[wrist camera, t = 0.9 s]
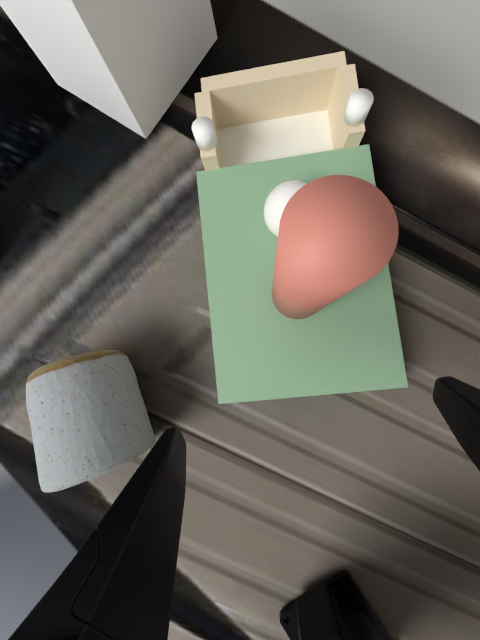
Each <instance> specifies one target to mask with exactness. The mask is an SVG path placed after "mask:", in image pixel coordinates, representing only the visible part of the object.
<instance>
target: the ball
mask: <svg viewBox="0 0 480 640" xmlns="http://www.w3.org/2000/svg"><path fill="white" fill-rule="evenodd" d="M306 184H307V183H304V182H302V181H298V180H290V181H286V182H283V183H281V184H279V185H278V186H276V187H275V188H274V189H273V190H272V191H271V192H270V194H269V195H268V197H267V199H266V202H265V205H264V219H265V223H266V225H267V227H268V228H269V230H270V231H271V232H272V233H273V234H274V235H276V236H277V237H278V233H279V224H280V219H281V215H282V213H283V210H284V208H285V206H286V204H287V203H288V201H289V200H290V198H291V197H292V196H293V195H294V194H295V193H296V192H297V191H298V190H299V189H300V188H301V187H303V186H304V185H306Z"/></svg>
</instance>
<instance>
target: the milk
mask: <svg viewBox="0 0 480 640" xmlns="http://www.w3.org/2000/svg"><path fill="white" fill-rule="evenodd" d="M0 6H1V7H2V8H3V10H4V11H5V13H6V14H7V15H8V17H9V18H10V19H11V21H12V22H13V23H14V25H15V26H16V28H17V29H18V30H19V32H20V33H21V34H22V36H23V37H24V39H25V40H26V41H27V43H28V44H29V45H30V47H31V48H32V50H33V51H34V52H35V54H36V55H37V56H38V58H39V59H40V61H41V62H42V63H43V65H44V66H45V67H46V69H47V70H48V72H49V73H50V74H51V76H52V77H53V78H54V80H55V81H56V83H57V84H58V85H60V86H61V87H63V88H64V89H66V90H68V91H69V92H71V93H73V94H74V95H76V96H77V97H79V98H81V99H82V100H84V101H86V102H87V103H89V104H90V105H92V106H94V107H95V108H97V109H99V110H100V111H102V112H103V113H105V114H107V115H108V116H110V117H112V118H113V119H115V120H116V121H118V122H120V123H121V124H123V125H124V126H126V127H128V128H129V129H131V130H133V131H134V132H136V133H137V134H139V135H141V136H142V137H144V138H146V139H147V137H148V136H149V134H150V133H151V132H152V130H153V129H154V127H155V126H156V124H157V123H158V122H159V120H160V119H161V117H162V116H163V115H164V113H165V112H166V110H167V109H168V107H169V106H170V105H171V103H172V102H173V100H174V99H175V98H176V96H177V95H178V93H179V92H180V90H181V89H182V88H183V86H184V85H185V83H186V82H187V81H188V79H189V78H190V76H191V75H192V74H193V72H194V71H195V69H196V68H197V66H198V65H199V64H200V62H201V61H202V59H203V58H204V57H205V55H206V54H207V52H208V51H209V49H210V48H211V47H212V45H213V44H214V42H215V41H216V40H217V33H216V28H215V23H214V18H213V13H212V8H211V3H210V0H0Z"/></svg>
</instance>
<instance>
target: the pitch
mask: <svg viewBox="0 0 480 640" xmlns="http://www.w3.org/2000/svg"><path fill="white" fill-rule="evenodd" d="M196 173H197V184H198V194H199V205H200V215H201V226H202V236H203V247H204V257H205V268H206V278H207V289H208V299H209V310H210V320H211V331H212V341H213V352H214V362H215V373H216V383H217V394H218V404H224V403H236V402H247V401H258V400H269V399H281V398H292V397H303V396H315V395H326V394H337V393H348V392H360V391H371V390H382V389H393V388H405V387H408V383H407V377H406V371H405V365H404V358H403V352H402V346H401V340H400V334H399V327H398V321H397V315H396V309H395V302H394V296H393V290H392V284H391V278H390V271H389V265H388V263H387V264H386V266H385V267H384V268H383V269H382V270H381V271H380V272H379V273H378V274H376V275H375V276H374V277H372V278H371V279H369V280H367V281H366V282H364V283H363V284H361V285H359V286H358V287H356V288H355V289H353V290H351V291H350V292H348V293H347V294H345V295H343V296H342V297H340V298H339V299H337V300H335V301H334V302H332V303H331V304H329V305H327V306H326V307H324V308H323V309H321V310H319V311H318V312H316V313H315V314H313V315H311V316H310V317H307V318H304V319H292V318H289V317H286V316H284V315H283V314H281V313H280V312H279V311H278V310H277V308H276V307H275V305H274V303H273V300H272V285H273V276H274V268H275V259H276V250H277V241H278V237H277V236H276V235H274V234H273V233H272V232H271V231H270V230H269V228H268V227H267V225H266V223H265V219H264V205H265V202H266V199H267V197H268V195H269V194H270V192H271V191H272V190H273V189H274V188H275V187H276V186H278V185H279V184H281V183H283V182H286V181H290V180H298V181H302V182H304V183H309V182H311V181H313V180H315V179H318V178H321V177H325V176H330V175H348V176H354V177H357V178H360V179H363V180H365V181H367V182H369V183H371V184H372V185H374V186H376V184H375V178H374V172H373V166H372V159H371V153H370V147H369V144H367V145H361V146H357V147H351V148H345V149H343V148H342V149H336V150H330V151H323V152H317V153H311V154H305V155H299V156H292V157H286V158H280V159H274V160H267V161H261V162H255V163H249V164H243V165H236V166H230V167H224V168H220V169H214V170H208V171H199V172H196Z"/></svg>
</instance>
